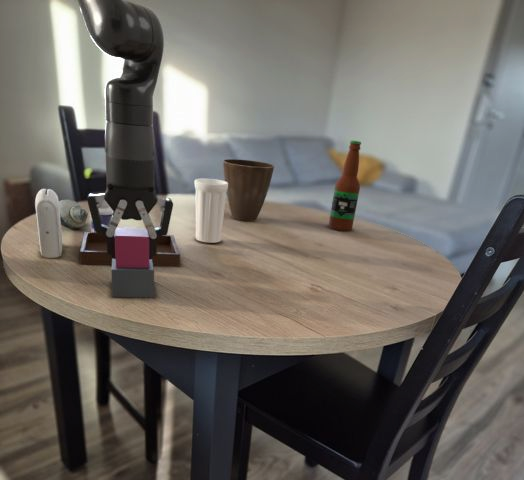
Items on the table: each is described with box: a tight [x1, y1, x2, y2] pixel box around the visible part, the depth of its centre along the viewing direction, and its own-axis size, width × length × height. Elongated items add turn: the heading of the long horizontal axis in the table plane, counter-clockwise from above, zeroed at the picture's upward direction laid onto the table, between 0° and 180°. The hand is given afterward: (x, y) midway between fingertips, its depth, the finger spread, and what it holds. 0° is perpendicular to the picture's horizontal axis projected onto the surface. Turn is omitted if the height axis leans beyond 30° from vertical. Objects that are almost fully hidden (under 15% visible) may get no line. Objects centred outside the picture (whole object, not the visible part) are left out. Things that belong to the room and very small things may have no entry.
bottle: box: [328, 140, 362, 232], centre depth 143 cm, size 7×7×25 cm
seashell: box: [59, 198, 89, 230], centre depth 117 cm, size 6×8×12 cm
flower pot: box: [222, 158, 275, 222], centre depth 143 cm, size 15×15×16 cm
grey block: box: [110, 258, 155, 298], centre depth 86 cm, size 7×7×5 cm
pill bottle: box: [90, 200, 114, 232], centre depth 112 cm, size 5×5×9 cm
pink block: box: [115, 226, 149, 268], centre depth 83 cm, size 6×6×6 cm
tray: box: [79, 231, 181, 267], centre depth 104 cm, size 20×15×3 cm
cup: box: [193, 177, 228, 244], centre depth 117 cm, size 8×8×14 cm
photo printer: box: [34, 188, 63, 259], centre depth 98 cm, size 10×4×12 cm, turn 20°
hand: (132, 257), depth 84 cm, fingers closed on pink block, 5 cm apart
